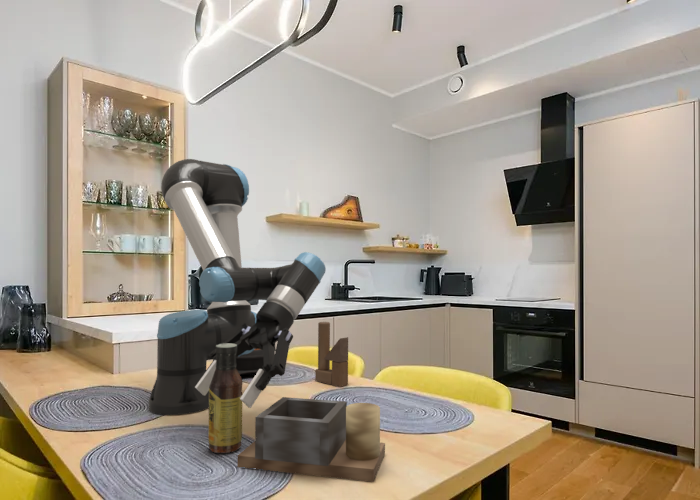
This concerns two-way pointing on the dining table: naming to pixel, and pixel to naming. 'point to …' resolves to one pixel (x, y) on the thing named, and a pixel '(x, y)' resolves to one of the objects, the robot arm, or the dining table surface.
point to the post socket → (317, 439)
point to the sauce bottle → (225, 402)
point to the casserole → (250, 362)
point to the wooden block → (331, 358)
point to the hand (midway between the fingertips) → (221, 397)
